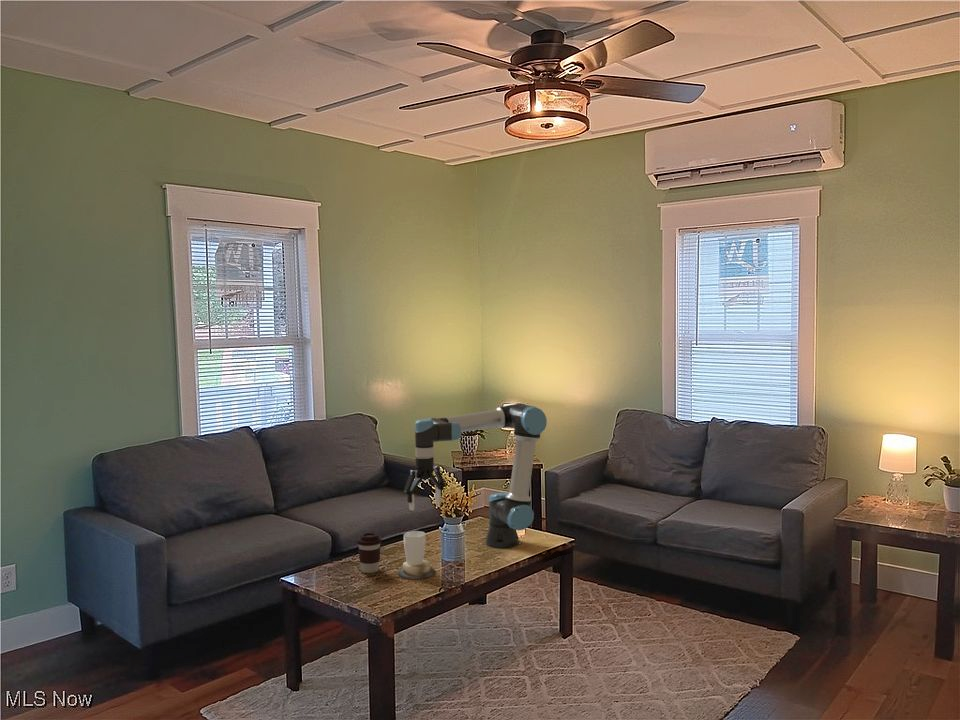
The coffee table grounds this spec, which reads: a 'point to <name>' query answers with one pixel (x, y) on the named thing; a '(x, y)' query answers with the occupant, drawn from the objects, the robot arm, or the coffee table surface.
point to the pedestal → (416, 571)
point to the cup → (414, 547)
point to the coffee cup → (369, 552)
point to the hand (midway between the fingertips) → (425, 507)
